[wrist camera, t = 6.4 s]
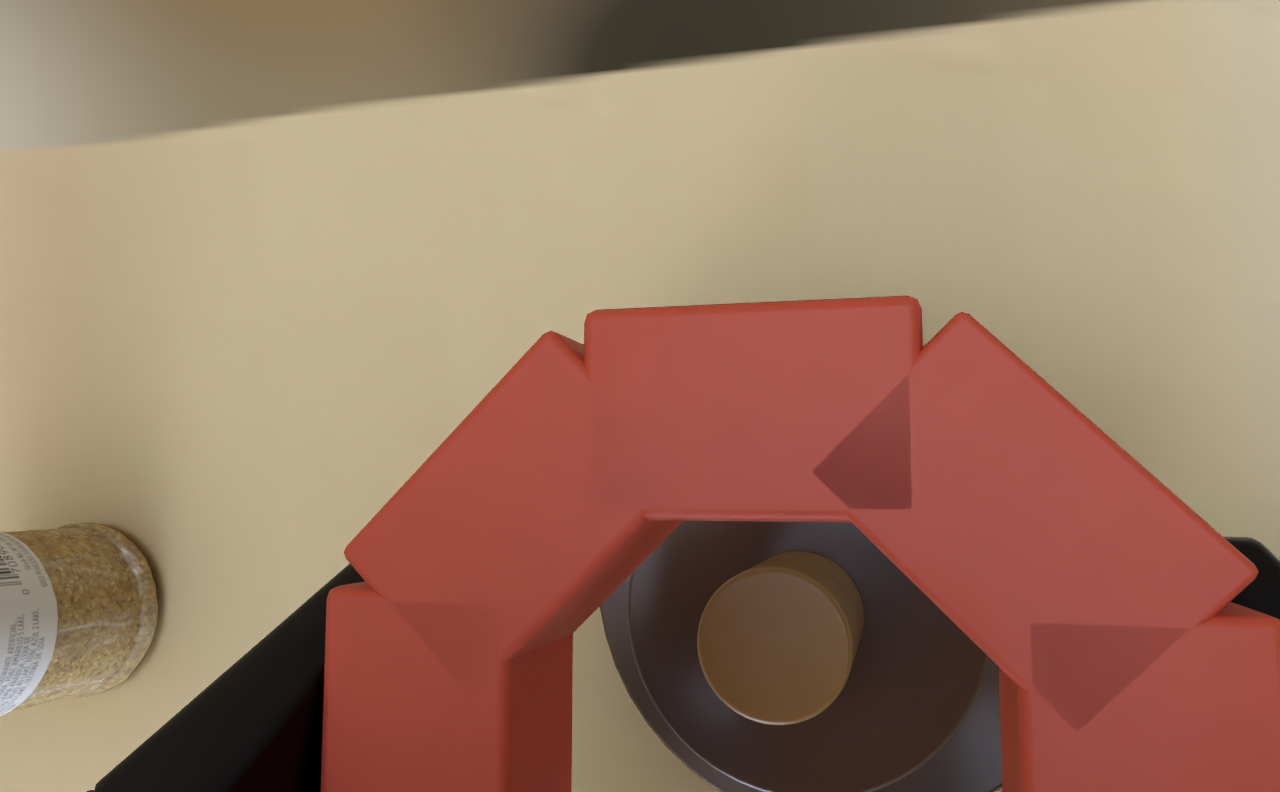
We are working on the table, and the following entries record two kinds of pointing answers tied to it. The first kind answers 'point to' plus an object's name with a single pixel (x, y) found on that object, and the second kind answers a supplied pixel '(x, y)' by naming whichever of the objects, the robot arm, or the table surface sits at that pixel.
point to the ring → (796, 492)
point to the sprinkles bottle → (71, 613)
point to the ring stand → (802, 664)
